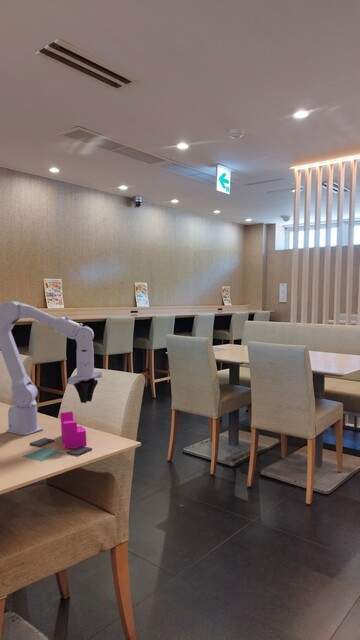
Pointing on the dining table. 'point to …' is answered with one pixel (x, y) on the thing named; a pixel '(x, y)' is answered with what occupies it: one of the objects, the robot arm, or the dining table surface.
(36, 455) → the pad
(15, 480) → the dining table surface
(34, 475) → the dining table surface
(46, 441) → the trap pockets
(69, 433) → the toy block
